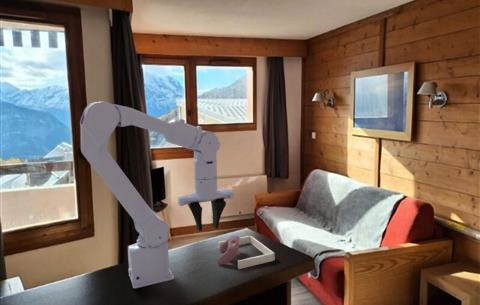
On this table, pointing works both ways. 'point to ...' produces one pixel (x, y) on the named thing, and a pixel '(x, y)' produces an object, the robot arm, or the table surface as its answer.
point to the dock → (258, 259)
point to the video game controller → (229, 250)
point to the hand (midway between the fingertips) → (207, 228)
